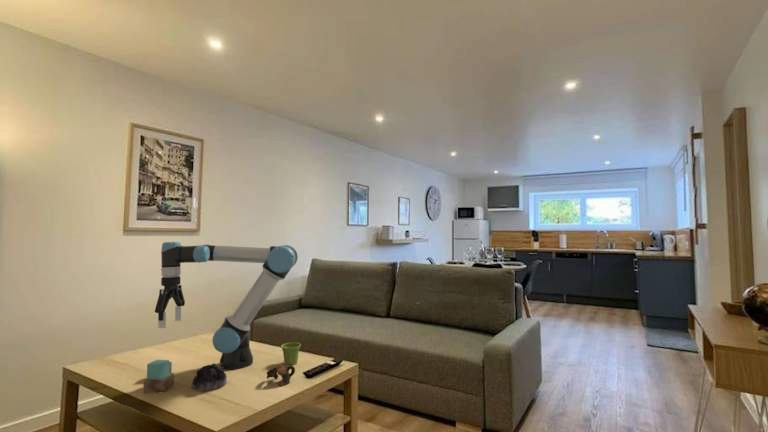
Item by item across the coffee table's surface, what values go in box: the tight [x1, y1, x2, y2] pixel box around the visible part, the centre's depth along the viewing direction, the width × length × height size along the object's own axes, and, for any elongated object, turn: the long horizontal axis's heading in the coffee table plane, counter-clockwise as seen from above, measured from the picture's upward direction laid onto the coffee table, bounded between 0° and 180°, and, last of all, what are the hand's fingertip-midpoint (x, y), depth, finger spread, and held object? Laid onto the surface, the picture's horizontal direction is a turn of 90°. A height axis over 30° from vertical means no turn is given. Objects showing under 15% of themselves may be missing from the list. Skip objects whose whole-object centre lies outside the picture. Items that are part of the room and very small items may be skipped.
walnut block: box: [142, 372, 175, 394], centre depth 156 cm, size 8×8×5 cm
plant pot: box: [280, 342, 302, 366], centre depth 187 cm, size 9×9×9 cm
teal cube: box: [146, 359, 170, 380], centre depth 156 cm, size 6×6×6 cm
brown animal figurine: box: [266, 363, 296, 387], centre depth 164 cm, size 12×10×8 cm
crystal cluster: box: [191, 363, 228, 392], centre depth 160 cm, size 14×14×10 cm
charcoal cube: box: [169, 361, 173, 373], centre depth 168 cm, size 6×6×6 cm
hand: (170, 324), depth 170 cm, fingers open, 13 cm apart
